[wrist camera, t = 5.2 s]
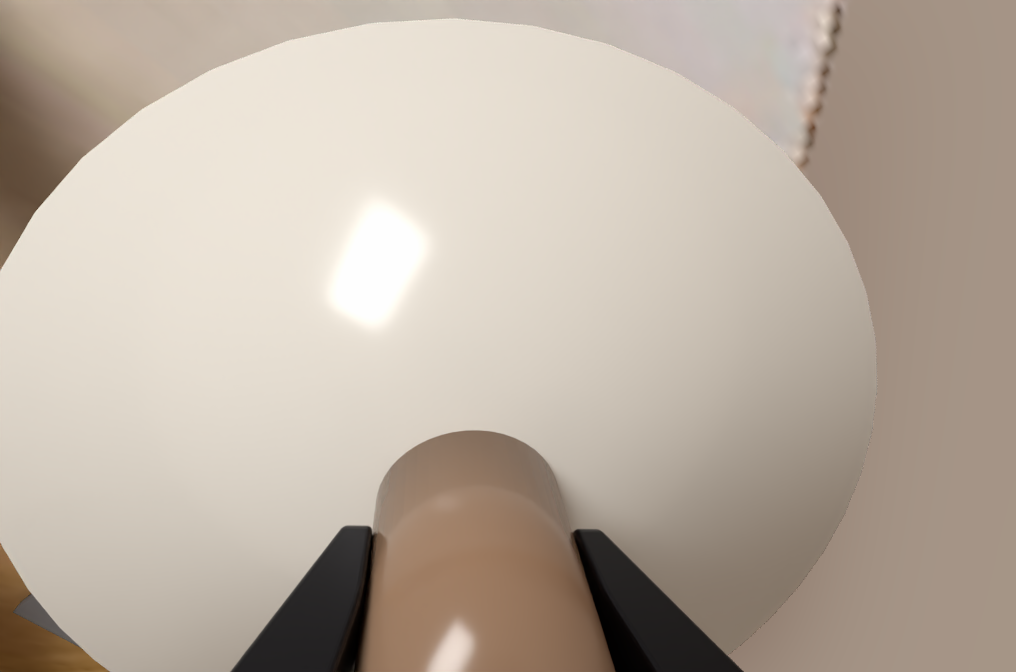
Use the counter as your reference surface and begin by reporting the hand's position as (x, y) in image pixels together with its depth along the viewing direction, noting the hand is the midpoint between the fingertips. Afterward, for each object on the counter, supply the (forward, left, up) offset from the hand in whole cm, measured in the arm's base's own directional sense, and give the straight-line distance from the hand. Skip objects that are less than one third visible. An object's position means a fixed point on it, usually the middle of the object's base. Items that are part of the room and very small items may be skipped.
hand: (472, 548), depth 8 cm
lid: (0, 0, -2) cm, 2 cm away
